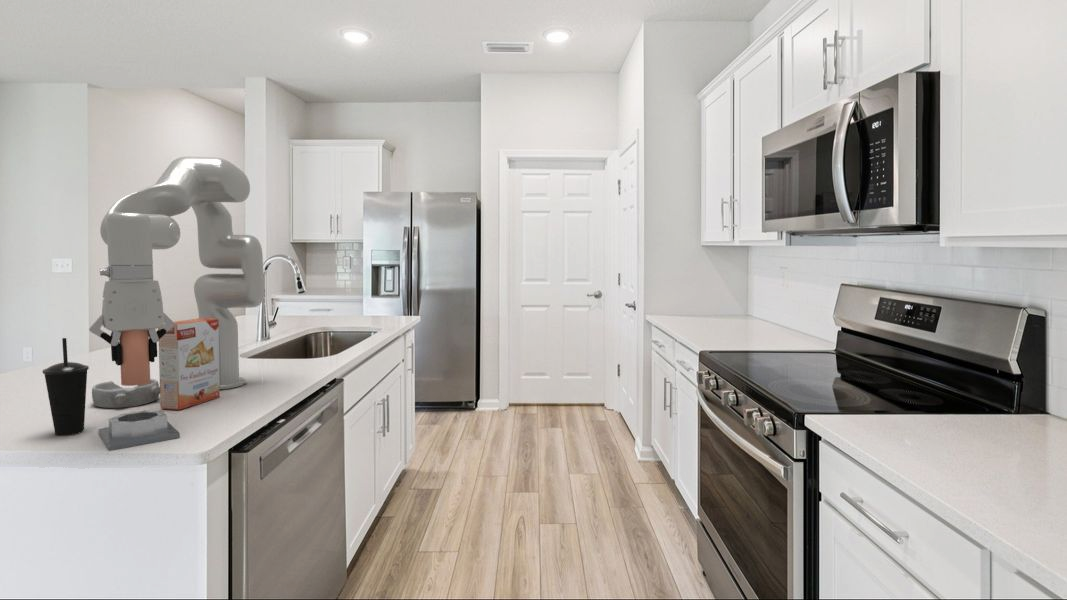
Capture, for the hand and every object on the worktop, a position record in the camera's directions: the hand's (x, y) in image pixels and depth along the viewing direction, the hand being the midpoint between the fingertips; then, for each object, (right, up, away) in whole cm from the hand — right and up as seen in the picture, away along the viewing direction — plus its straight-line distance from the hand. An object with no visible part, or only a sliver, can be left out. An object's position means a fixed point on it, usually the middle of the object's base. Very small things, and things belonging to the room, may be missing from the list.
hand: (135, 361), depth 124 cm
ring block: (0, -16, +1) cm, 16 cm away
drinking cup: (-16, -15, +3) cm, 22 cm away
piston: (0, -4, 0) cm, 4 cm away
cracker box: (-4, -13, +28) cm, 31 cm away
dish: (-20, -13, +28) cm, 37 cm away
